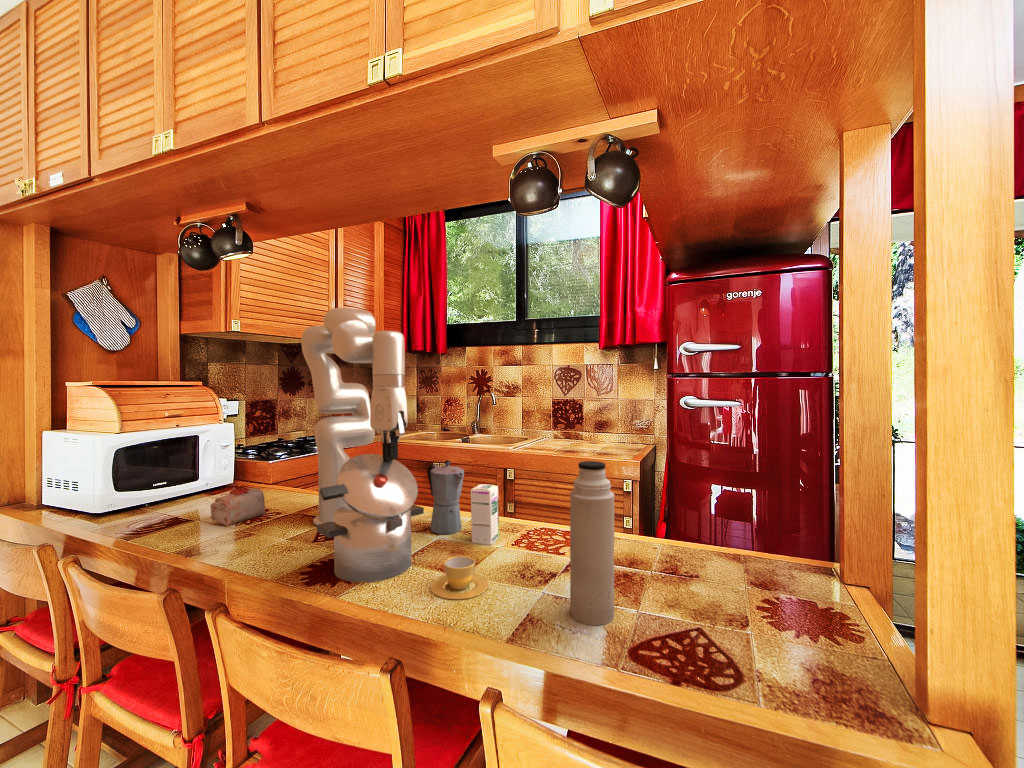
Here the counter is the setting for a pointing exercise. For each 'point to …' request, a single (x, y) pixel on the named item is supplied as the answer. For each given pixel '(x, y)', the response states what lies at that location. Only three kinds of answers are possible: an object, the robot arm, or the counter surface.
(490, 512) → the syrup box
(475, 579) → the cup
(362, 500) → the lid
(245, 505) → the food item
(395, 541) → the pot
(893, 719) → the counter surface
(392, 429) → the robot arm
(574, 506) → the thermos bottle
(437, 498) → the moka pot
